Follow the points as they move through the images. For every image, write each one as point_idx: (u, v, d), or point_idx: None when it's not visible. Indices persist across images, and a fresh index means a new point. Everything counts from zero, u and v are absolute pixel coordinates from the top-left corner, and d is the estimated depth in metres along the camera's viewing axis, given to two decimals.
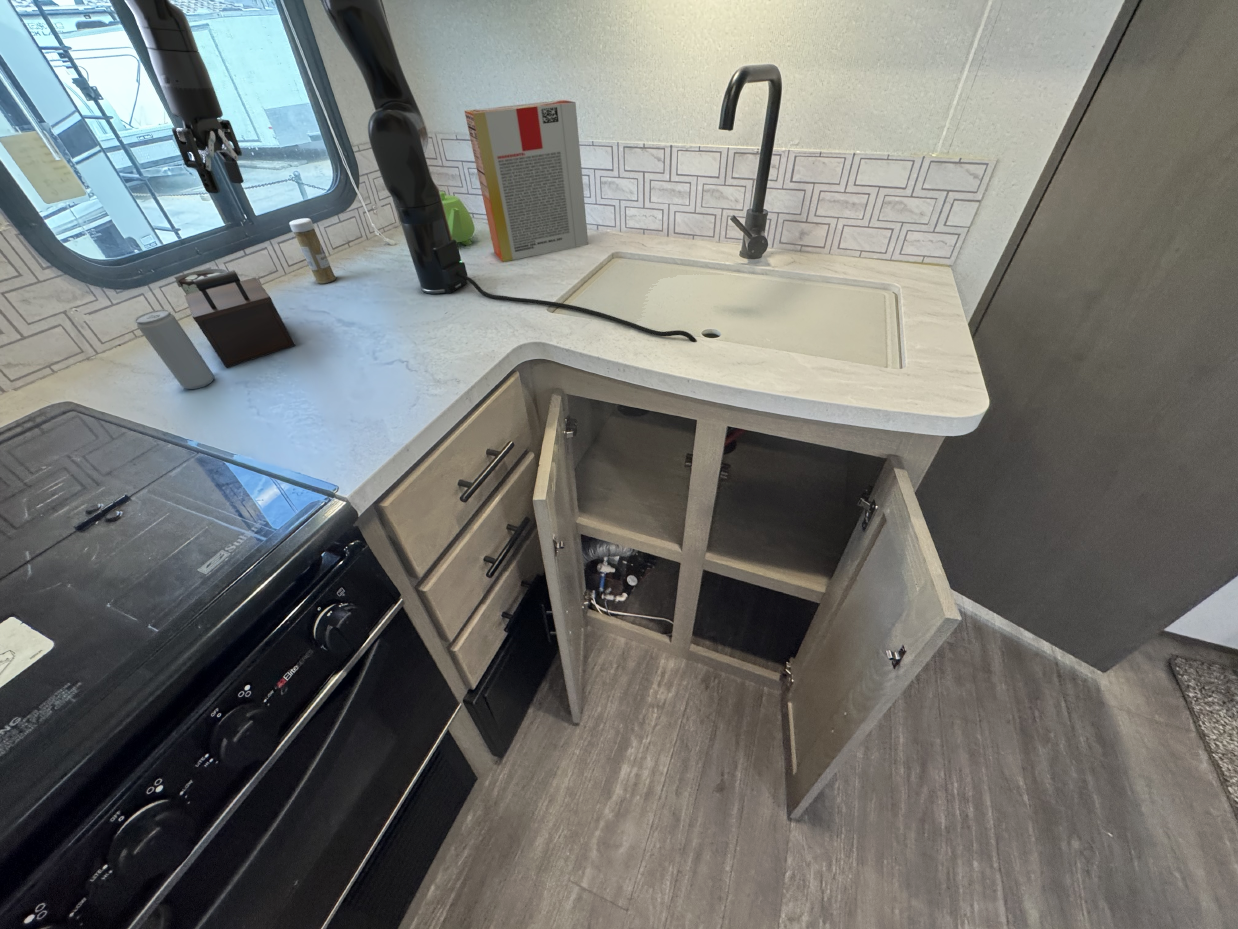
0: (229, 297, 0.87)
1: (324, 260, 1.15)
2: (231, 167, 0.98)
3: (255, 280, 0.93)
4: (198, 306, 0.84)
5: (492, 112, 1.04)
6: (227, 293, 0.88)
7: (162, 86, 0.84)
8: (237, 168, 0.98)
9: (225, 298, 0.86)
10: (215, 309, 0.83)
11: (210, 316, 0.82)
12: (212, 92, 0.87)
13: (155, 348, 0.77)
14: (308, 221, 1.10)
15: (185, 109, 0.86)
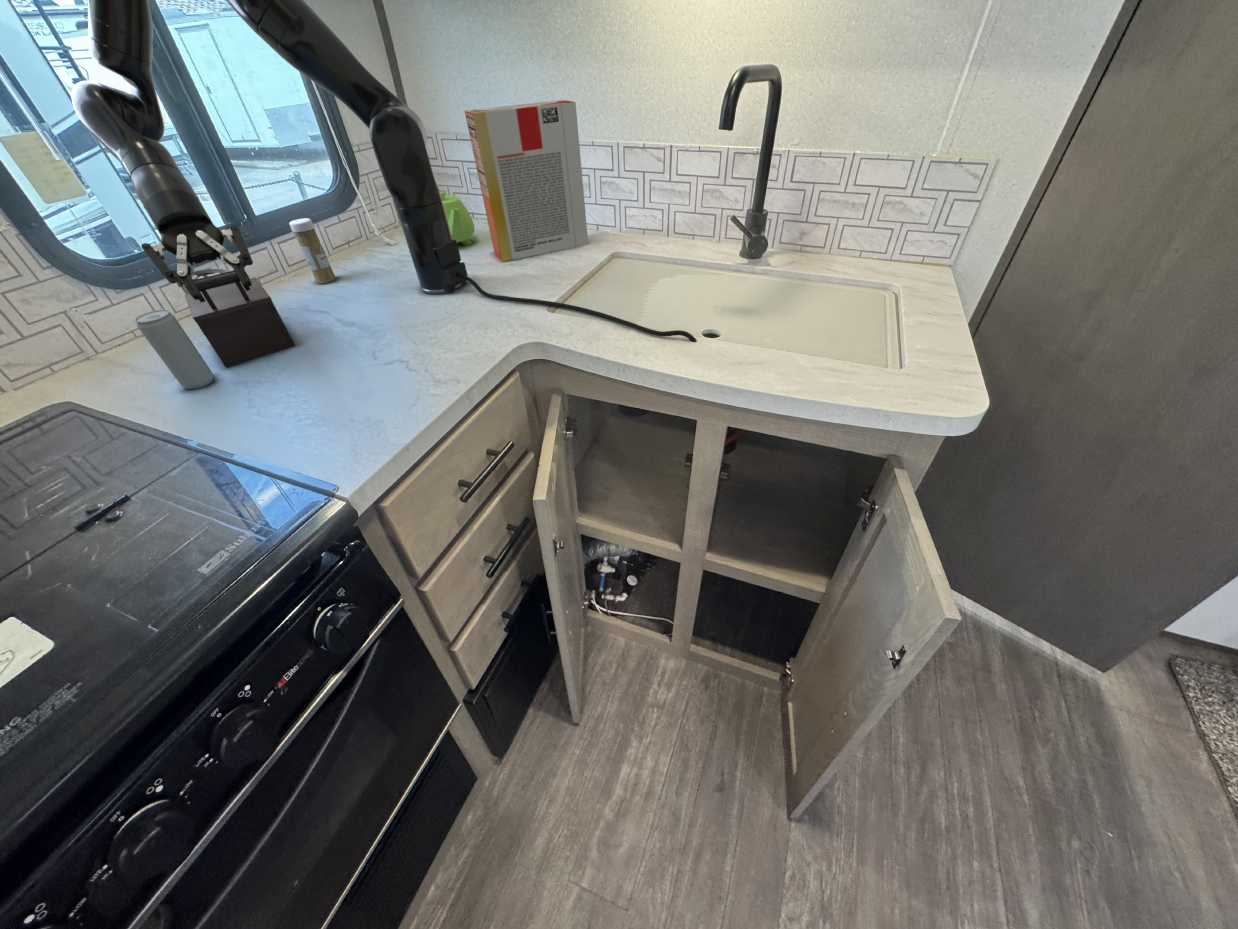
0: (229, 297, 0.87)
1: (324, 260, 1.15)
2: None
3: (255, 280, 0.93)
4: (198, 306, 0.84)
5: (492, 112, 1.04)
6: (227, 293, 0.88)
7: None
8: (236, 271, 0.83)
9: (225, 298, 0.86)
10: (215, 309, 0.83)
11: (210, 316, 0.82)
12: (167, 193, 0.78)
13: (155, 348, 0.77)
14: (308, 221, 1.10)
15: (155, 225, 0.80)
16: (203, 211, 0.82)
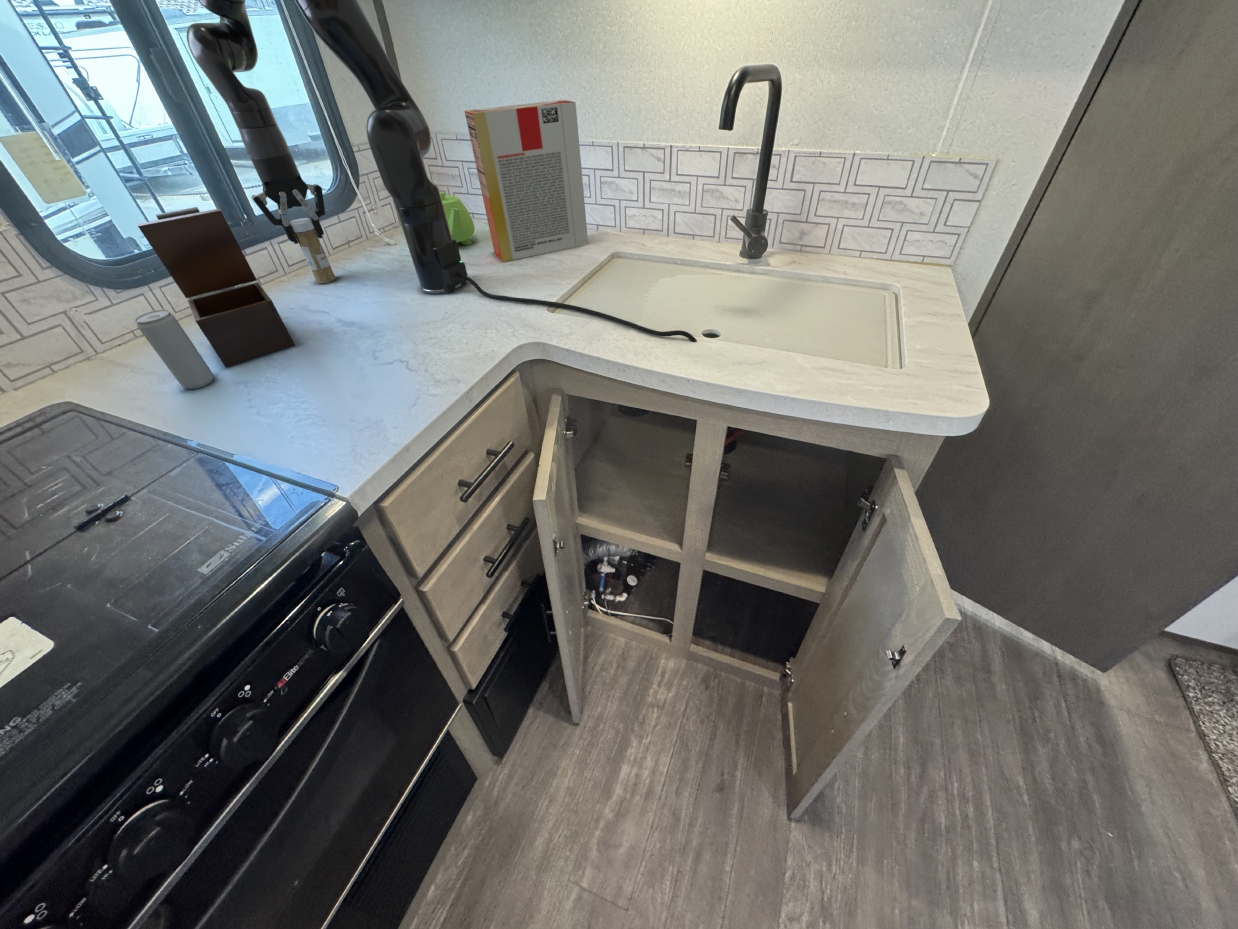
0: None
1: (324, 260, 1.15)
2: None
3: None
4: None
5: (492, 112, 1.04)
6: None
7: None
8: (315, 226, 1.11)
9: None
10: None
11: (154, 222, 0.79)
12: (276, 160, 1.00)
13: (155, 348, 0.77)
14: (308, 221, 1.10)
15: (258, 175, 1.02)
16: (297, 170, 1.04)
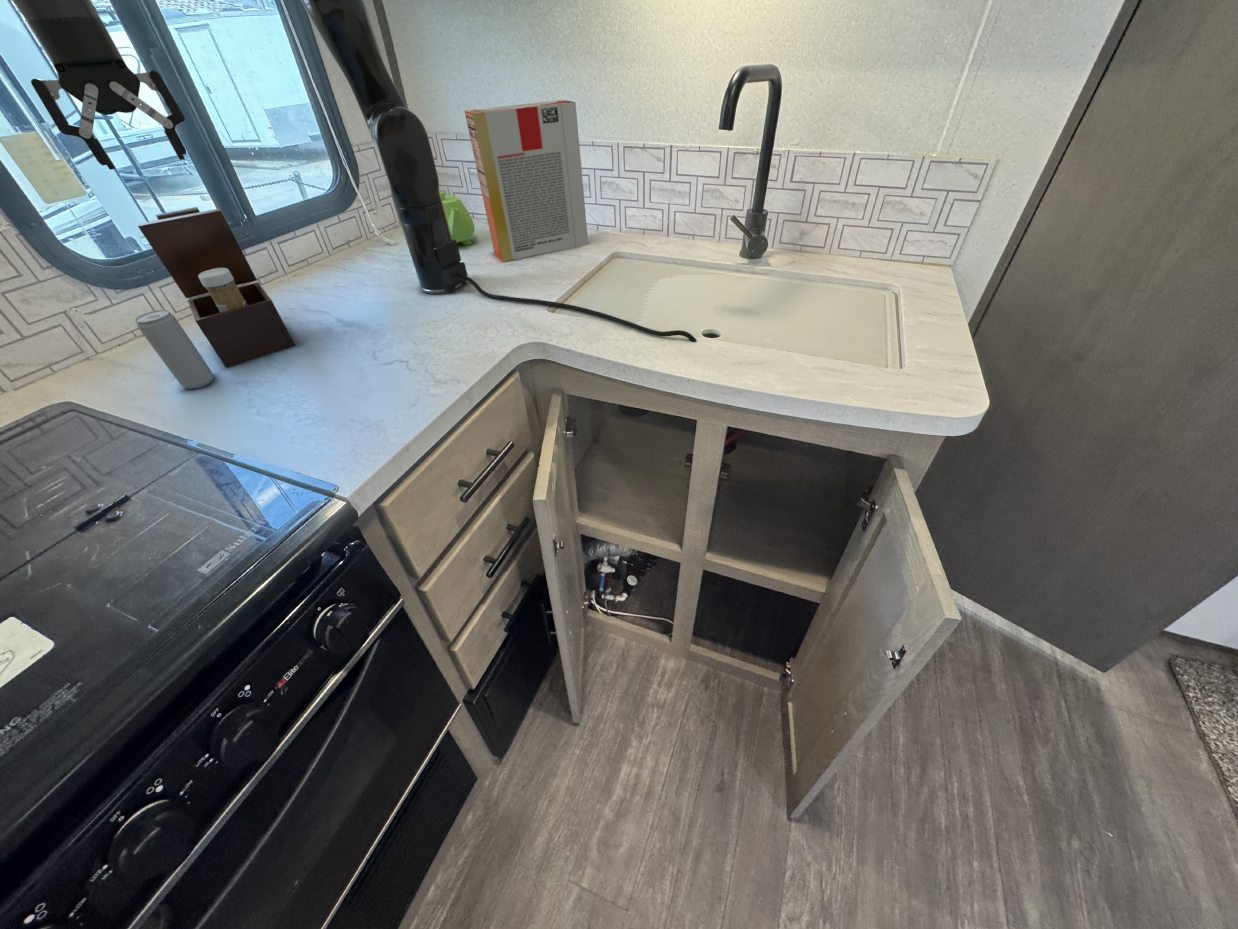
0: None
1: None
2: (167, 137, 0.73)
3: None
4: None
5: (492, 112, 1.04)
6: None
7: None
8: (169, 139, 0.73)
9: None
10: None
11: (154, 222, 0.79)
12: (67, 25, 0.61)
13: (155, 348, 0.77)
14: (224, 273, 0.83)
15: (45, 52, 0.63)
16: (114, 49, 0.65)
